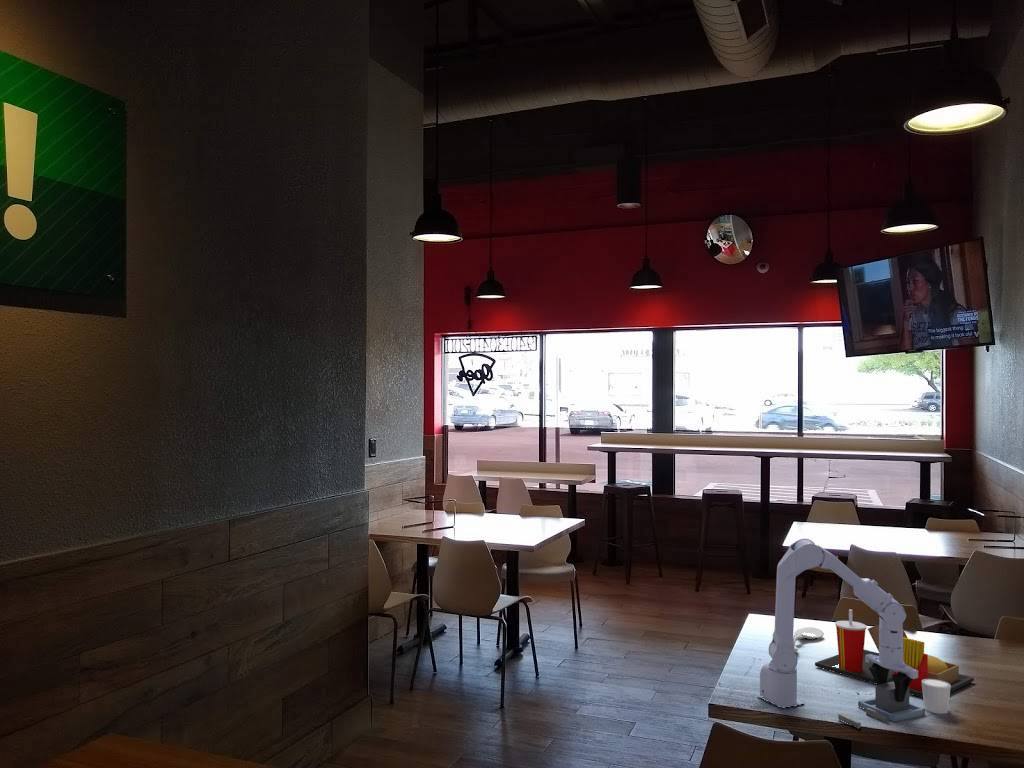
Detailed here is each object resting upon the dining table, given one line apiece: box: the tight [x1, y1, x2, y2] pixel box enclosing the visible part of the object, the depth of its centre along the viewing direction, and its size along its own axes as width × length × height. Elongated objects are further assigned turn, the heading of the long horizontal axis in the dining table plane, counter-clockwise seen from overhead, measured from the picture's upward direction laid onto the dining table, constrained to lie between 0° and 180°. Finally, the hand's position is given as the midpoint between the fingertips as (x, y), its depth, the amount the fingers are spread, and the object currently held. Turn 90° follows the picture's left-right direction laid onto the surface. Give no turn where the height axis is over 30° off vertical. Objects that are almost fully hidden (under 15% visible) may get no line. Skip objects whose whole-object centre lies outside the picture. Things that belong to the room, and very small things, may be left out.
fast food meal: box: [814, 609, 975, 699], centre depth 233 cm, size 26×35×18 cm
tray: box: [857, 697, 926, 723], centre depth 205 cm, size 11×12×2 cm
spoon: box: [793, 626, 824, 653], centre depth 263 cm, size 9×32×4 cm, turn 141°
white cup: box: [922, 679, 951, 715], centre depth 206 cm, size 7×7×7 cm
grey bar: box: [874, 681, 910, 713], centre depth 205 cm, size 4×8×6 cm, turn 117°
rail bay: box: [837, 708, 890, 730], centre depth 198 cm, size 6×11×2 cm, turn 115°
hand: (891, 697), depth 205 cm, fingers open, 5 cm apart
